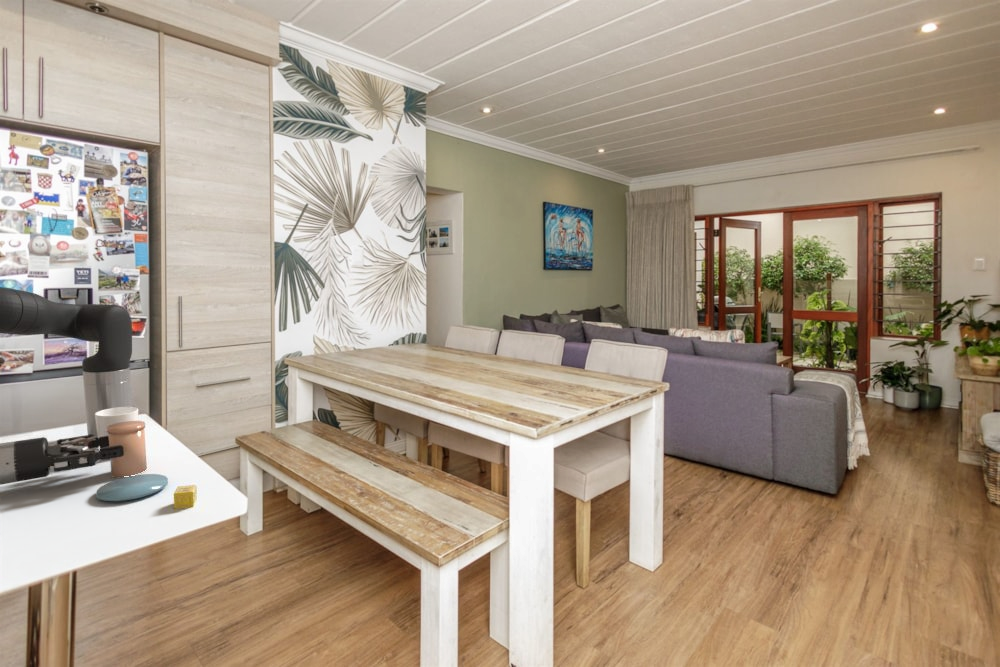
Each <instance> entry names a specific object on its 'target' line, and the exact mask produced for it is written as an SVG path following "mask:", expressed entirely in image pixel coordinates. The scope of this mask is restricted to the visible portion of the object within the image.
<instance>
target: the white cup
mask: <svg viewBox="0 0 1000 667" xmlns="http://www.w3.org/2000/svg"><path fill="white" fill-rule="evenodd" d="M95 420H96V428H97V434H98V438H99V437H103V436H108V433H107V427H108V426H110V425H112V424H116V423H120V422H127V421H139V408H138V407H135V406H132V407H117V408H110V409H105V410H101V411H98V412H96V413H95ZM104 448H105V447H104Z"/></svg>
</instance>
